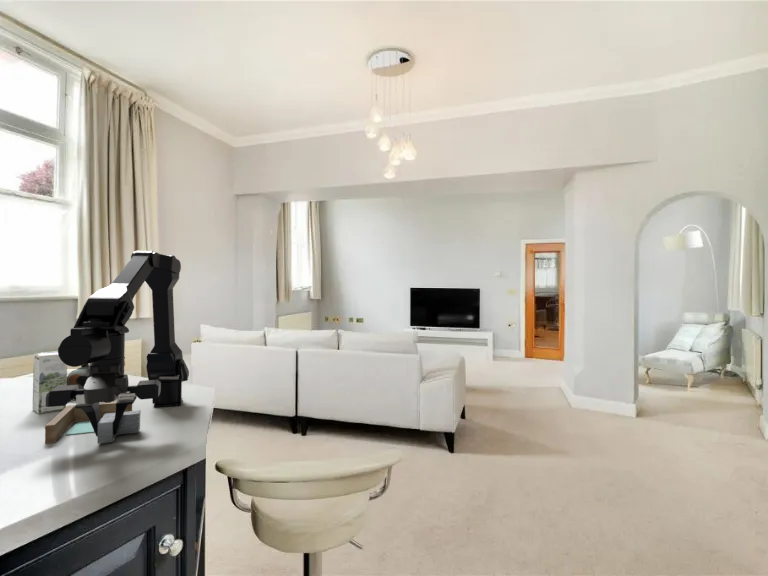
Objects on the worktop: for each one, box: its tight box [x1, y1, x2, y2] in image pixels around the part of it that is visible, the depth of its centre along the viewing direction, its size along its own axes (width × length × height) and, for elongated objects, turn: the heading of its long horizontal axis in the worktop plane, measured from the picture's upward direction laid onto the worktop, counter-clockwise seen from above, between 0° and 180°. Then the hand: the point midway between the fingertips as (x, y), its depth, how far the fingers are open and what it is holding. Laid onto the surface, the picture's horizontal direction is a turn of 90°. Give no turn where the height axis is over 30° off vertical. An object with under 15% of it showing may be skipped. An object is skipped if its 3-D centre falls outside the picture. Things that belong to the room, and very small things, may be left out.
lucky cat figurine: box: [67, 356, 126, 389], centre depth 125 cm, size 15×12×14 cm
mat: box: [65, 420, 95, 436], centre depth 94 cm, size 9×8×1 cm
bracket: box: [97, 410, 141, 444], centre depth 87 cm, size 7×6×4 cm
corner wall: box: [44, 401, 133, 444], centre depth 93 cm, size 13×16×4 cm
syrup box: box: [32, 350, 68, 415], centre depth 106 cm, size 6×6×14 cm
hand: (106, 435), depth 85 cm, fingers closed on bracket, 2 cm apart
